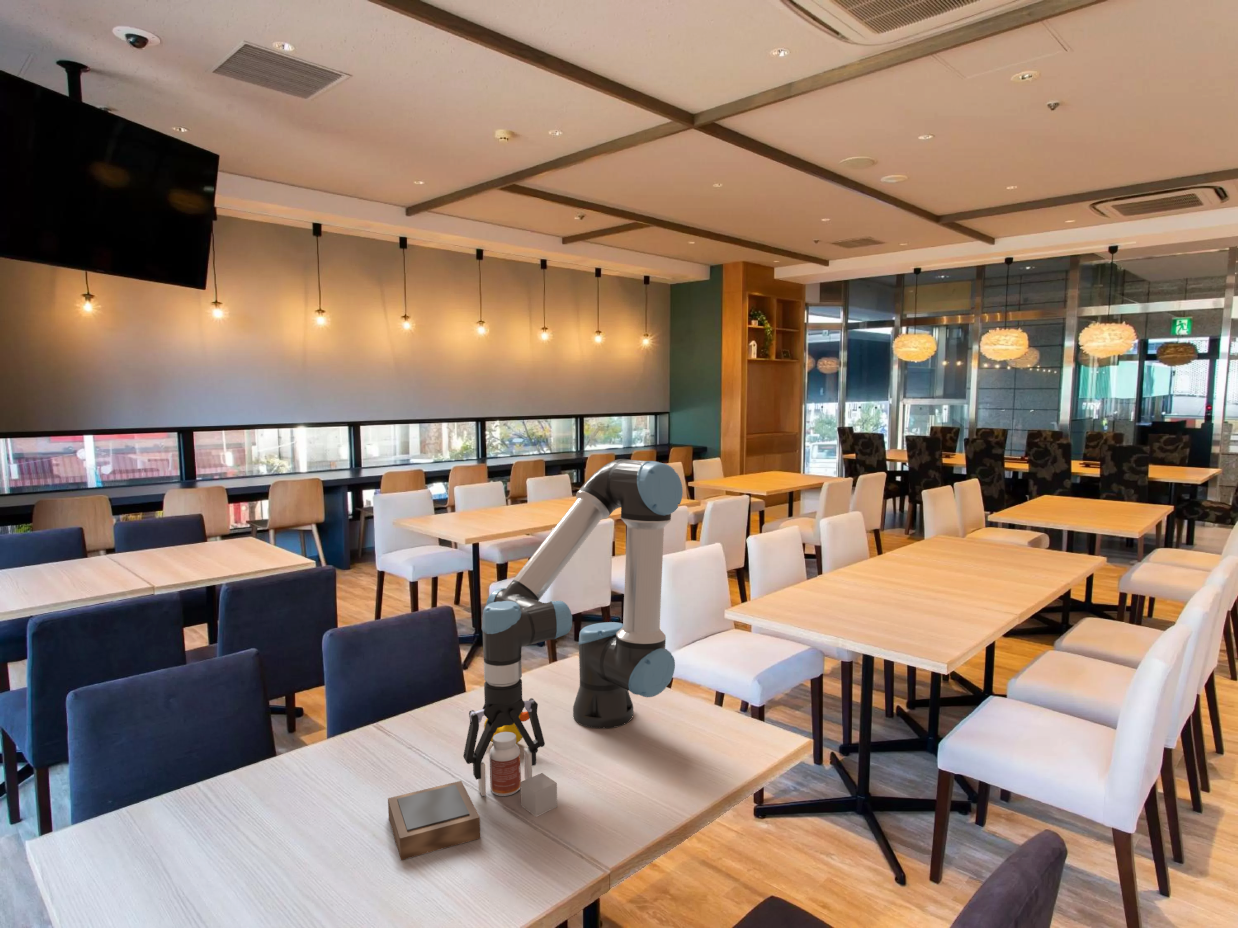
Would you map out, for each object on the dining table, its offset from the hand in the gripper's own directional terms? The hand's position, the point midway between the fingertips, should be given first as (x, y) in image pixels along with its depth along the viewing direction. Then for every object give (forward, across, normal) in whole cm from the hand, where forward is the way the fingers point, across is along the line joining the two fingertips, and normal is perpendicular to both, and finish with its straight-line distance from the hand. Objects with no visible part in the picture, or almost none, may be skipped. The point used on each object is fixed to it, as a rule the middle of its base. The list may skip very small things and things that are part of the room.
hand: (505, 786), depth 147 cm
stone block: (+1, -4, +9) cm, 10 cm away
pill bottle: (+1, 0, 0) cm, 1 cm away
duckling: (+1, -6, -18) cm, 19 cm away
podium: (0, +16, +7) cm, 17 cm away
